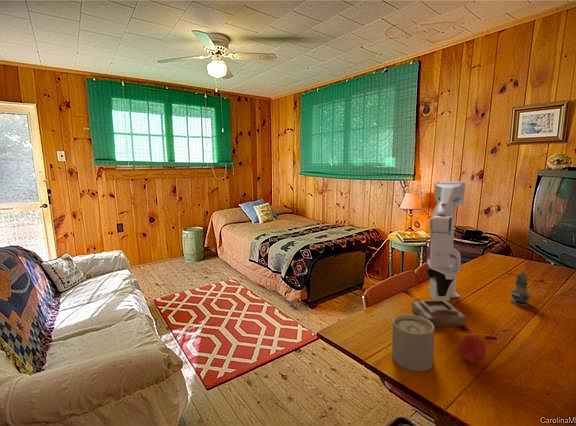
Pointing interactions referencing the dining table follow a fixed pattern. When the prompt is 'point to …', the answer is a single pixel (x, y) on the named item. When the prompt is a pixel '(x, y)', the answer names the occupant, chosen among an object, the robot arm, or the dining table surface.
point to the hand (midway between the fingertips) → (438, 292)
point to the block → (435, 294)
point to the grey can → (413, 342)
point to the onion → (472, 348)
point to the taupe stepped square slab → (439, 313)
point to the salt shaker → (520, 291)
